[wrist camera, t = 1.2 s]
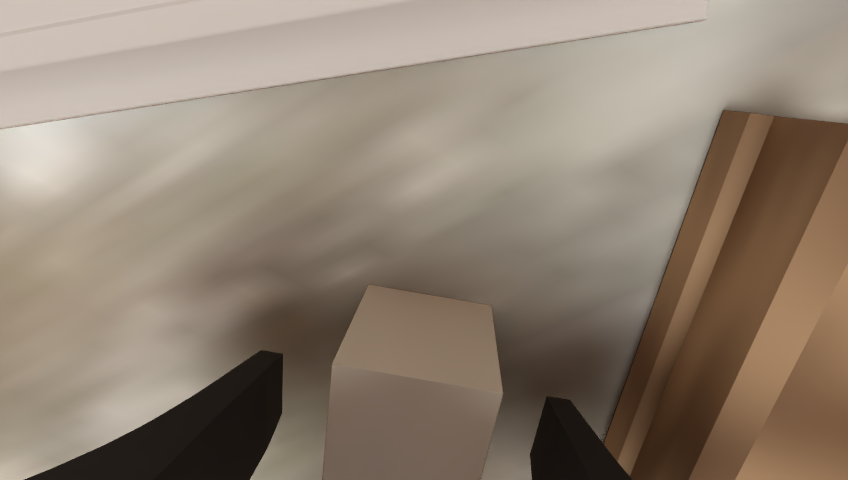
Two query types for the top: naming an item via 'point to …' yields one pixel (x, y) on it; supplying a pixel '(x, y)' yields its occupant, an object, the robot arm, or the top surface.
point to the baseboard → (267, 43)
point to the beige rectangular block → (413, 390)
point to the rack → (749, 317)
